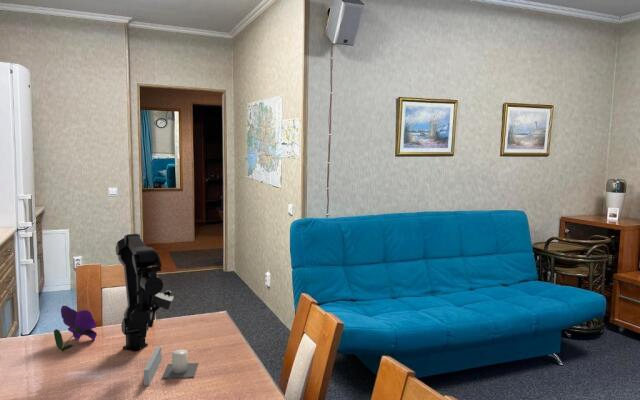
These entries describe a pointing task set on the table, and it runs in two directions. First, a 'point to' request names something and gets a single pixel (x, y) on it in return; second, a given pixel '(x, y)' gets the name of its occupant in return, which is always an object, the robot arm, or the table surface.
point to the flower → (75, 326)
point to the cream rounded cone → (180, 361)
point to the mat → (188, 374)
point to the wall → (152, 366)
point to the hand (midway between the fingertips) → (147, 332)
